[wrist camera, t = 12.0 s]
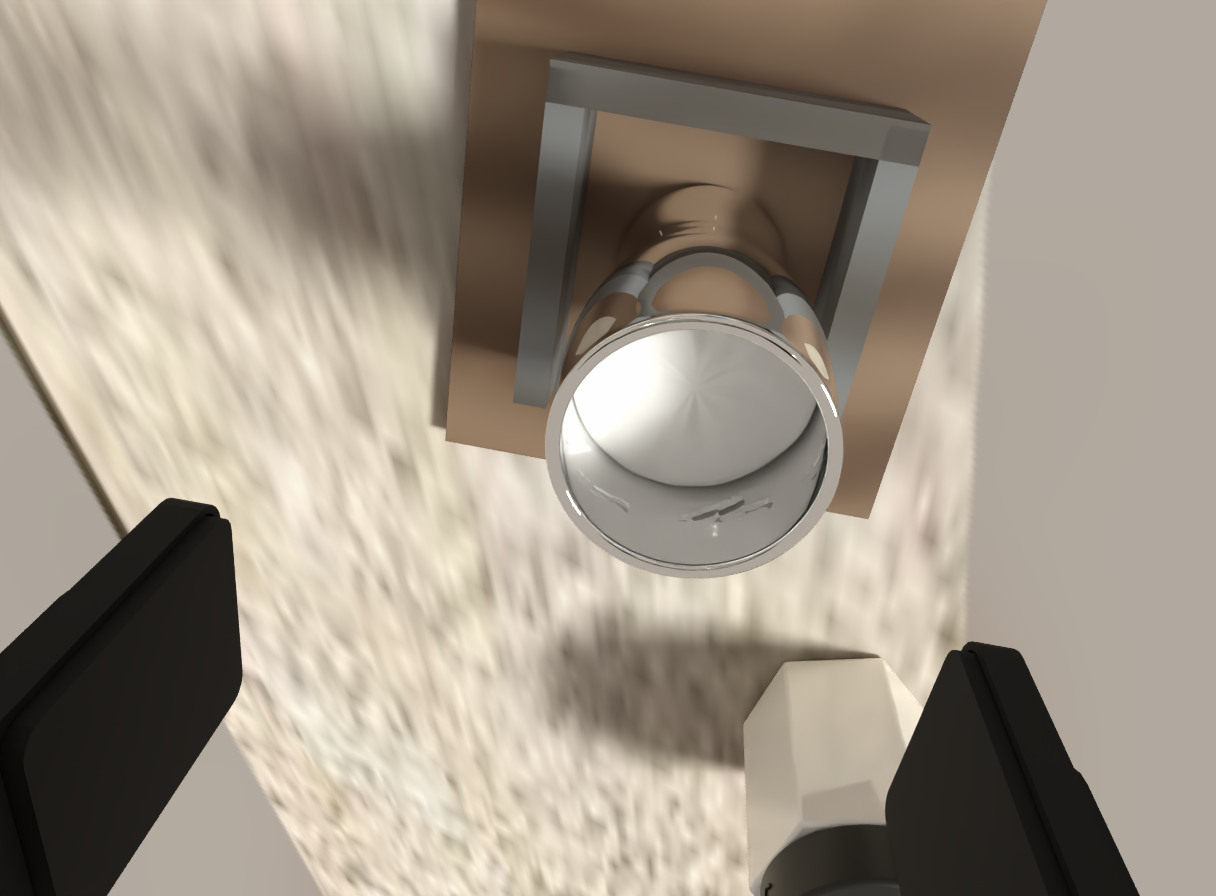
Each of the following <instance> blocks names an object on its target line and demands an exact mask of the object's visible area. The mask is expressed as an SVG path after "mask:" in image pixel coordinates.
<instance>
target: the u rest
mask: <svg viewBox="0 0 1216 896" xmlns="http://www.w3.org/2000/svg"><path fill="white" fill-rule="evenodd" d="M1046 3H1047V0H476V13H475V27H474V41H473V55H472V69H471V84H470V98H469V112H468V126H467V141H466V155H465V169H464V183H463V197H462V212H461V226H460V240H459V254H458V268H457V283H456V297H455V311H454V325H453V339H452V354H451V368H450V382H449V396H448V410H447V425H446V439H445V441H449V442H455V443H460V444H465V445H471V446H476V447H482V448H487V449H492V450H498V451H503V452H509V453H514V454H519V455H525V456H530V457H536V458H541V459H546V454H545V435H546V427H547V421H548V416H549V413H550V409H551V406H552V404H553V401H554V395H555V389H556V384H557V380H558V375H559V370H560V366H561V362H562V359H563V356H564V353H565V350H566V347H567V344H568V341H569V338H570V335H571V332H572V330H573V328H574V325H575V324H576V322H577V320H578V318H579V316H580V314H581V312H582V310H583V308H584V306H585V304H586V303H587V301H588V299H589V298H590V296H591V295H592V293H593V292H594V290H595V289H596V288H597V287H598V285H599V284H600V283H601V282H602V281H603V280H604V279H605V278H606V277H607V275H608V274H609V273H610V272H611V271H612V270H613V269H614V268H615V267H616V266H617V265H618V261H619V254H620V250H621V246H622V243H623V240H624V237H625V235H626V233H627V231H628V229H629V228H630V226H631V224H632V223H633V221H634V220H635V219H636V217H637V216H638V215H639V214H640V213H641V212H642V211H643V209H645V208H646V207H647V206H648V205H649V204H650V203H651V202H653V201H654V200H656V199H657V198H659V197H660V196H662V195H664V194H666V193H668V192H671V191H673V190H676V189H679V188H683V187H688V186H695V185H712V186H719V187H724V188H727V189H730V190H733V191H736V192H738V193H740V194H742V195H744V196H746V197H747V198H749V199H750V200H752V201H753V202H754V203H756V204H757V205H758V206H759V207H760V208H761V209H762V210H763V211H764V212H765V213H766V214H767V216H768V217H769V218H770V219H771V221H772V222H773V224H774V226H775V228H776V230H777V232H778V234H779V236H780V239H781V242H782V246H783V250H784V258H785V270H786V271H787V272H788V273H789V274H790V276H791V277H792V278H793V279H794V281H795V282H796V283H797V284H798V285H799V287H800V288H801V289H802V291H803V292H804V293H805V295H806V296H807V298H808V300H809V301H810V303H811V305H812V307H813V309H814V311H815V313H816V315H817V318H818V320H819V322H820V325H821V327H822V330H823V332H824V335H825V337H826V340H827V344H828V347H829V351H830V356H831V360H832V364H833V369H834V373H835V380H836V388H837V396H838V406H839V415H840V419H841V423H842V428H843V436H844V459H843V466H842V472H841V476H840V480H839V483H838V486H837V489H836V492H835V494H834V497H833V499H832V501H831V503H830V505H829V506H828V508H827V510H826V511H827V512H832V513H838V514H843V515H849V516H854V517H859V518H865V519H869V516H870V513H871V510H872V507H873V504H874V501H875V498H876V495H877V493H878V490H879V487H880V484H881V481H882V478H883V475H884V472H885V469H886V466H887V464H888V461H889V458H890V455H891V452H892V449H893V446H894V443H895V440H896V438H897V435H898V432H899V429H900V426H901V423H902V420H903V417H904V414H905V411H906V409H907V406H908V403H909V400H910V397H911V394H912V391H913V388H914V385H915V383H916V380H917V377H918V374H919V371H920V368H921V365H922V362H923V359H924V356H925V354H926V351H927V348H928V345H929V342H930V339H931V336H932V333H933V330H934V327H935V325H936V322H937V319H938V316H939V313H940V310H941V307H942V304H943V301H944V299H945V296H946V293H947V290H948V287H949V284H950V281H951V278H952V275H953V272H954V270H955V267H956V264H957V261H958V258H959V255H960V252H961V249H962V246H963V244H964V241H965V238H966V235H967V232H968V229H969V226H970V223H971V220H972V217H973V215H974V212H975V209H976V206H977V203H978V200H979V197H980V194H981V191H982V188H983V186H984V183H985V180H986V177H987V174H988V171H989V168H990V165H991V162H992V160H993V157H994V154H995V151H996V148H997V145H998V142H999V139H1000V136H1001V133H1002V130H1003V128H1004V124H1005V122H1006V119H1007V116H1008V113H1009V110H1010V107H1011V104H1012V102H1013V98H1014V96H1015V93H1016V90H1017V87H1018V84H1019V81H1020V78H1021V76H1022V73H1023V70H1024V67H1025V64H1026V61H1027V58H1028V55H1029V52H1030V49H1031V47H1032V44H1033V41H1034V38H1035V35H1036V32H1037V29H1038V26H1039V23H1040V20H1041V18H1042V14H1043V11H1044V9H1045V6H1046Z"/></svg>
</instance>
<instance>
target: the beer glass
mask: <svg viewBox="0 0 1216 896" xmlns="http://www.w3.org/2000/svg"><path fill="white" fill-rule="evenodd" d="M545 454H546V463H547V469H548V473H549V477H550V480H551V483H552V486H553V489H554V491H555V494H556V496H557V498H558V500H559V502H560V504H561V505H562V507H563V509H564V510H565V512H566V513H567V515H568V516H569V518H570V519H571V520H572V522H573V523H574V524H575V525H576V526H577V527H578V529H579V530H580V531H581V532H582V533H583V534H584V535H585V536H586V537H587V538H588V539H590V540H591V541H592V542H593V543H594V544H596V545H597V546H598V547H599V548H601V549H602V550H604V551H605V552H607V553H608V554H610V555H611V556H613V557H615V558H617V559H619V560H620V561H622V562H624V563H627V564H629V565H631V566H633V567H636V568H639V569H641V570H644V571H648V572H651V573H655V574H659V575H664V576H669V577H676V578H688V579H703V578H716V577H723V576H729V575H733V574H737V573H741V572H745V571H748V570H751V569H754V568H756V567H759V566H761V565H763V564H766V563H768V562H770V561H772V560H773V559H775V558H777V557H779V556H780V555H782V554H784V553H785V552H787V551H788V550H790V549H791V548H792V547H794V546H795V545H796V544H797V543H798V542H800V541H801V540H802V539H803V538H804V537H805V536H806V535H807V534H808V533H809V532H810V531H811V530H812V529H813V528H814V527H815V525H816V524H817V523H818V522H819V520H820V519H821V518H822V516H823V515H824V513H825V511H826V510H827V508H828V506H829V505H830V503H831V501H832V499H833V497H834V494H835V492H836V489H837V486H838V483H839V480H840V476H841V472H842V466H843V459H844V436H843V428H842V423H841V419H840V415H839V406H838V396H837V388H836V380H835V373H834V369H833V364H832V360H831V356H830V351H829V347H828V344H827V340H826V337H825V335H824V332H823V330H822V327H821V325H820V322H819V320H818V318H817V315H816V313H815V311H814V309H813V307H812V305H811V303H810V301H809V300H808V298H807V296H806V295H805V293H804V292H803V291H802V289H801V288H800V287H799V285H798V284H797V283H796V282H795V281H794V279H793V278H792V277H791V276H790V274H789V273H788V272H787V271H786V270H785V258H784V250H783V246H782V242H781V239H780V236H779V234H778V232H777V230H776V228H775V226H774V224H773V222H772V221H771V219H770V218H769V217H768V216H767V214H766V213H765V212H764V211H763V210H762V209H761V208H760V207H759V206H758V205H757V204H756V203H754V202H753V201H752V200H750V199H749V198H747V197H746V196H744V195H742V194H740V193H738V192H736V191H733V190H730V189H727V188H724V187H719V186H712V185H695V186H688V187H683V188H679V189H676V190H673V191H671V192H668V193H666V194H664V195H662V196H660V197H659V198H657V199H656V200H654V201H653V202H651V203H650V204H649V205H648V206H647V207H646V208H645V209H643V211H642V212H641V213H640V214H639V215H638V216H637V217H636V219H635V220H634V221H633V223H632V224H631V226H630V228H629V229H628V231H627V233H626V235H625V237H624V240H623V243H622V246H621V250H620V254H619V261H618V265H617V266H616V267H615V268H614V269H613V270H612V271H611V272H610V273H609V274H608V275H607V277H606V278H605V279H604V280H603V281H602V282H601V283H600V284H599V285H598V287H597V288H596V289H595V290H594V292H593V293H592V295H591V296H590V298H589V299H588V301H587V303H586V304H585V306H584V308H583V310H582V312H581V314H580V316H579V318H578V320H577V322H576V324H575V325H574V328H573V330H572V332H571V335H570V338H569V341H568V344H567V347H566V350H565V353H564V356H563V359H562V362H561V366H560V370H559V375H558V380H557V384H556V389H555V395H554V401H553V404H552V406H551V409H550V413H549V416H548V421H547V427H546V435H545Z"/></svg>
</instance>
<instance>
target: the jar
mask: <svg viewBox="0 0 1216 896" xmlns="http://www.w3.org/2000/svg"><path fill="white" fill-rule="evenodd" d="M922 712H923V708H922V706H921V705H920V704H919V703H918V701H917V700H916V699H915V698H914V696H913V695H912V694H911V693H910V692H909V690H908V689H907V688H906V687H905V685H904V684H903V683H902V682H901V680H900V679H899V678H898V677H897V675H896V674H895V673H894V672H893V670H892V669H891V668H890V667H889V665H888V664H887V663H886V662H885V660H884V659H882V658H861V659H837V660H813V661H789V662H785V663H784V664H783V665H782V666H781V668H780V669H779V671H778V672H777V674H776V675H775V677H774V678H773V680H772V681H771V683H770V684H769V686H768V687H767V689H766V690H765V692H764V693H763V695H762V696H761V698H760V699H759V701H758V703H757V704H756V706H755V707H754V709H753V710H752V712H751V713H750V715H749V716H748V718H747V719H746V721H745V722H744V725H743V735H744V762H745V789H746V816H747V842H748V869H749V889H750V891H751V893H752V894H753V895H754V896H901V893H900V888H899V883H898V879H897V874H896V869H895V864H894V859H893V855H892V850H891V845H890V840H889V835H888V831H887V826H886V820H885V802H886V797H887V793H888V790H889V788H890V785H891V783H892V781H893V778H894V776H895V774H896V771H897V769H898V767H899V765H900V762H901V760H902V758H903V755H904V753H905V751H906V748H907V746H908V744H909V742H910V739H911V737H912V735H913V732H914V730H915V728H916V725H917V723H918V721H919V718H920V716H921V714H922Z"/></svg>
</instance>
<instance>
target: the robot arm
mask: <svg viewBox="0 0 1216 896" xmlns="http://www.w3.org/2000/svg"><path fill="white" fill-rule="evenodd" d="M241 682H242V659H241V646H240V633H239V620H238V606H237V593H236V580H235V567H234V554H233V541H232V529H231V524H230V522H229V520H227V519H223V518H220V514H219V511H218V509H217V508H216V507H215V506H213V505H209V504H204V503H198V502H192V501H187V500H181V499H176V498H168V499H165V500H164V501H163V502H161V503H160V504H159V505H158V506H157V507H156V508H155V509H154V510H153V511H152V512H151V513H150V514H148V515H147V516H146V517H145V518H144V519H143V520H142V521H141V522H140V523H139V524H138V525H137V526H136V527H135V528H134V529H133V530H132V531H131V532H130V533H129V534H128V535H126V536H125V537H124V538H123V539H122V540H121V541H120V542H119V543H118V544H117V545H116V546H115V547H114V548H113V549H112V550H111V551H110V552H109V553H108V554H107V555H106V556H105V557H103V558H102V559H101V560H100V561H99V562H98V563H97V564H96V565H95V566H94V567H93V568H92V569H91V570H90V571H89V572H88V573H87V574H86V575H85V576H84V577H83V578H81V580H80V581H78V582H77V583H76V584H75V585H74V586H73V587H72V588H71V589H70V590H69V591H67V592H66V593H64V594H63V595H62V596H60V597H59V598H58V599H57V600H56V601H55V602H54V603H53V604H52V605H51V606H50V607H49V608H48V609H47V610H46V611H45V612H43V613H42V614H41V615H40V616H39V617H38V618H37V619H36V620H35V621H34V622H33V623H32V624H31V625H30V626H29V627H28V628H27V629H25V630H24V632H22V633H21V634H20V635H19V636H18V637H17V638H16V639H15V640H14V641H13V642H12V643H11V644H10V645H9V646H8V647H7V648H6V649H4V650H3V651H2V652H1V653H0V896H107V894H108V893H109V891H110V890H111V888H112V887H113V886H114V884H115V882H116V881H117V879H118V878H119V876H120V875H121V873H122V872H123V870H124V868H125V867H126V866H127V864H128V863H129V861H130V860H131V858H132V857H133V855H134V854H135V852H136V850H137V849H138V847H139V846H140V844H141V843H142V841H143V840H144V838H145V837H146V835H147V834H148V832H149V831H150V829H151V828H152V826H153V825H154V823H155V822H156V820H157V819H158V817H159V815H160V814H161V812H162V811H163V809H164V808H165V806H166V805H167V803H168V802H169V800H170V799H171V797H172V795H173V794H174V793H175V791H176V790H177V788H178V787H179V785H180V784H181V782H182V780H183V779H184V777H185V776H186V774H187V773H188V771H189V770H190V768H191V767H192V765H193V764H194V762H195V761H196V759H197V757H198V756H199V754H200V753H201V752H202V750H203V748H204V747H205V745H206V744H207V742H208V741H209V739H210V738H211V736H212V735H213V733H214V732H215V730H216V729H217V727H218V726H219V724H220V723H221V721H222V720H223V718H224V717H225V715H226V714H227V712H228V711H229V709H230V707H231V706H232V704H233V703H234V701H235V699H236V697H237V695H238V693H239V690H240V686H241ZM885 820H886V826H887V831H888V835H889V840H890V845H891V850H892V855H893V859H894V864H895V869H896V874H897V879H898V883H899V888H900V893H901V896H1140V895H1139V893H1138V891H1137V889H1136V887H1135V885H1134V882H1133V880H1132V878H1131V876H1130V874H1129V872H1128V870H1127V868H1126V866H1125V863H1124V861H1123V859H1122V857H1121V855H1120V853H1119V850H1118V848H1117V846H1116V844H1115V842H1114V840H1113V838H1112V836H1111V833H1110V831H1109V829H1108V827H1107V825H1106V823H1105V821H1104V818H1103V817H1102V814H1101V812H1100V810H1099V808H1098V806H1097V804H1096V801H1095V799H1094V797H1093V795H1092V793H1091V791H1090V789H1089V787H1088V784H1087V783H1086V781H1085V780H1084V778H1083V777H1082V775H1081V773H1080V772H1078V771H1077V770H1076V769H1074V767H1073V765H1072V763H1071V760H1070V758H1069V756H1068V754H1067V752H1066V750H1065V747H1064V745H1063V743H1062V741H1061V739H1060V737H1059V735H1058V732H1057V730H1056V728H1055V726H1054V724H1053V721H1052V719H1051V717H1050V715H1049V713H1048V711H1047V708H1046V706H1045V704H1044V702H1043V700H1042V698H1041V695H1040V693H1039V691H1038V689H1037V687H1036V685H1035V683H1034V680H1033V678H1032V676H1031V674H1030V672H1029V669H1028V667H1027V665H1026V663H1025V661H1024V659H1023V657H1022V655H1021V654H1020V652H1019V651H1017V650H1015V649H1012V648H1007V647H1001V646H995V645H990V644H984V643H979V642H973V641H972V642H968V643H967V644H966V645H965V646H964V647H963V649H962V650H961V651H958V650H951V651H950V652H949V653H948V655H947V657H946V659H945V661H944V663H943V666H942V668H941V670H940V672H939V675H938V677H937V679H936V682H935V684H934V686H933V689H932V691H931V693H930V695H929V698H928V700H927V702H926V705H925V707H924V709H923V712H922V714H921V716H920V718H919V721H918V723H917V725H916V728H915V730H914V732H913V735H912V737H911V739H910V742H909V744H908V746H907V748H906V751H905V753H904V755H903V758H902V760H901V762H900V765H899V767H898V769H897V771H896V774H895V776H894V778H893V781H892V783H891V785H890V788H889V790H888V793H887V797H886V802H885Z"/></svg>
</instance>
